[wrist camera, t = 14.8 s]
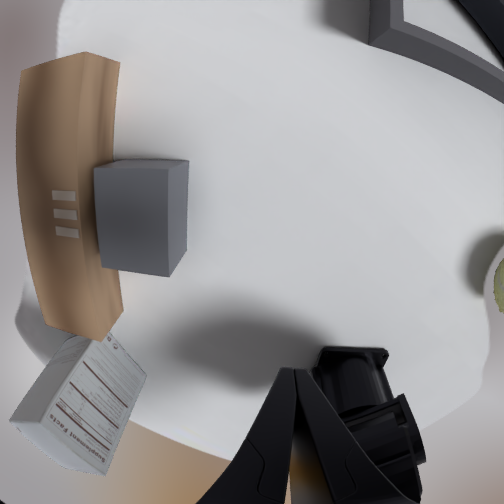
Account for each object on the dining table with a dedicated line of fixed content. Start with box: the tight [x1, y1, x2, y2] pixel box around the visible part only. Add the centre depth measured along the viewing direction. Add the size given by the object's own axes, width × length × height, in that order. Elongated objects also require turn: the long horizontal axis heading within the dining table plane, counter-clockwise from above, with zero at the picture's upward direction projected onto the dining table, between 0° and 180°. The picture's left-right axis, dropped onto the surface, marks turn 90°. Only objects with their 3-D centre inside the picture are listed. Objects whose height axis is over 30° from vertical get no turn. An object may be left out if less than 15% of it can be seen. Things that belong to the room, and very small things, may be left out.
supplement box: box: [9, 332, 146, 476], centre depth 21 cm, size 7×7×13 cm
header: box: [16, 52, 123, 342], centre depth 17 cm, size 11×20×4 cm, turn 174°
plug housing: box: [94, 159, 189, 277], centre depth 18 cm, size 5×6×4 cm
